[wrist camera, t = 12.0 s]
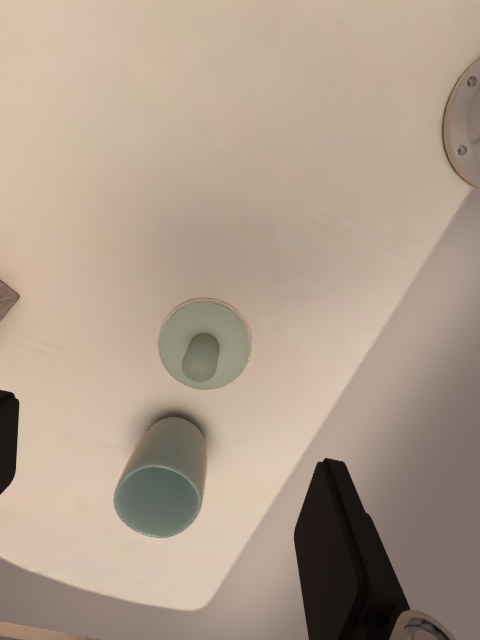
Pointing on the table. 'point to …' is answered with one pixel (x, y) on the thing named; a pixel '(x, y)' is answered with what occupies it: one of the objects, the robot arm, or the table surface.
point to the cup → (163, 479)
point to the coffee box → (6, 299)
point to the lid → (204, 345)
